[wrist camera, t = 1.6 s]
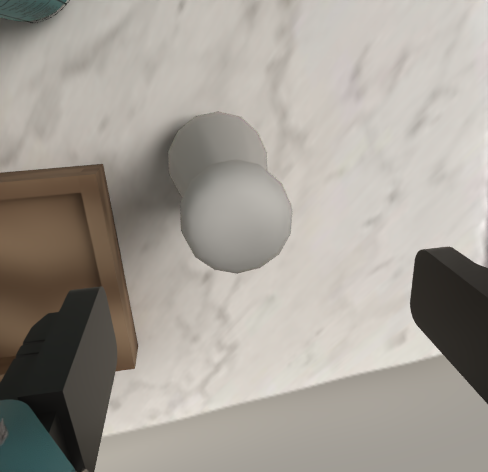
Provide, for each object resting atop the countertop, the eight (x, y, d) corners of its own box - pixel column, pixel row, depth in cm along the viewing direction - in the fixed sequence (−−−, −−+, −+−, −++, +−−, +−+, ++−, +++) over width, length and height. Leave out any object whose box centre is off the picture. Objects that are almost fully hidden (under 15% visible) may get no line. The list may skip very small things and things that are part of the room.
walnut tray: (-141, 185, 25) (-174, 197, 22) (103, 164, 26) (95, 174, 24) (-60, 372, 30) (-79, 397, 28) (138, 346, 32) (134, 368, 29)
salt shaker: (269, 120, 27) (341, 170, 15) (247, 204, 29) (294, 308, 17) (178, 97, 25) (175, 131, 13) (161, 187, 27) (145, 286, 15)
